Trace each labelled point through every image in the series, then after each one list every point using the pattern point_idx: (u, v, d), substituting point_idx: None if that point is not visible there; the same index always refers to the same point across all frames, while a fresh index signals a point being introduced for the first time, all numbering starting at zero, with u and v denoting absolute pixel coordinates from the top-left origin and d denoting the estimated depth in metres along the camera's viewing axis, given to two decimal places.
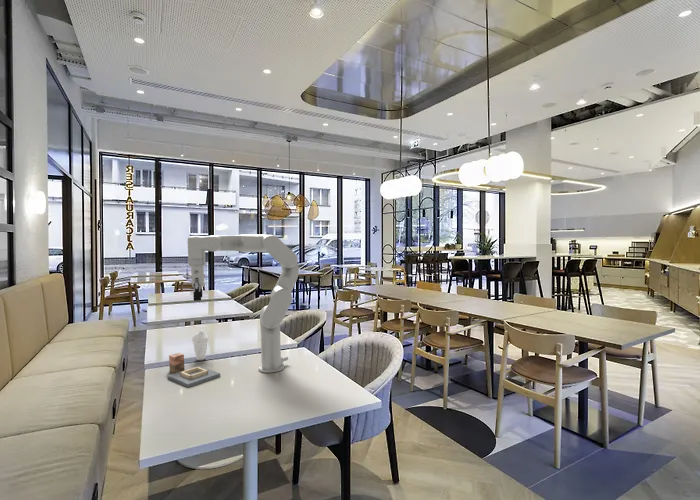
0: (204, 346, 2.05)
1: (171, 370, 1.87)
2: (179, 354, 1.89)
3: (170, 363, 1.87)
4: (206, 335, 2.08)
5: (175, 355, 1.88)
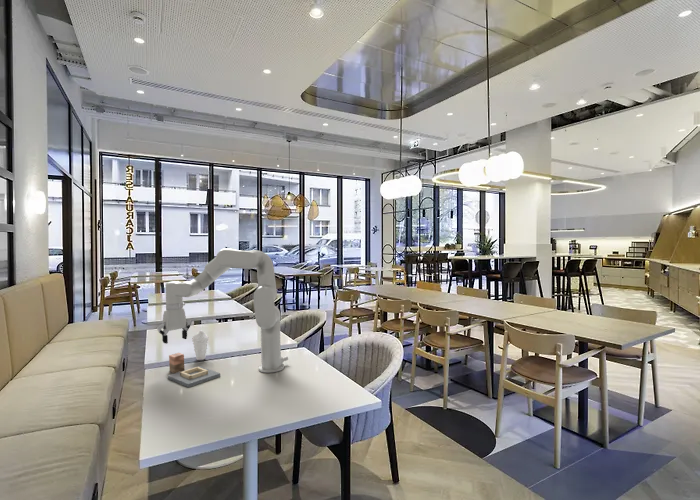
0: (204, 346, 2.05)
1: (171, 370, 1.87)
2: (179, 354, 1.89)
3: (170, 363, 1.87)
4: (206, 335, 2.08)
5: (175, 355, 1.88)
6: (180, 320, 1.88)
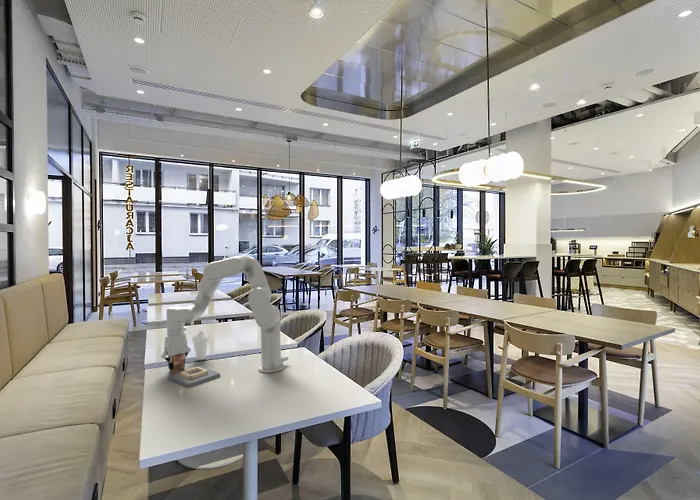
0: (204, 346, 2.05)
1: (171, 370, 1.87)
2: (179, 354, 1.89)
3: None
4: (206, 335, 2.08)
5: None
6: (181, 345, 1.88)
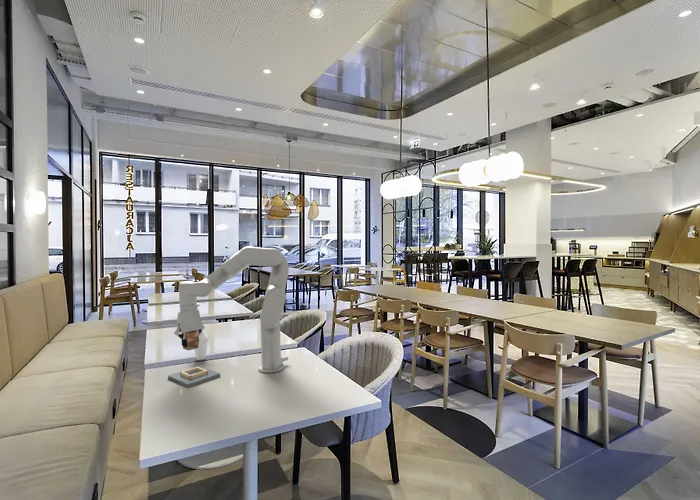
0: (204, 346, 2.05)
1: (184, 347, 1.79)
2: (192, 331, 1.81)
3: None
4: (206, 335, 2.08)
5: None
6: (195, 322, 1.80)
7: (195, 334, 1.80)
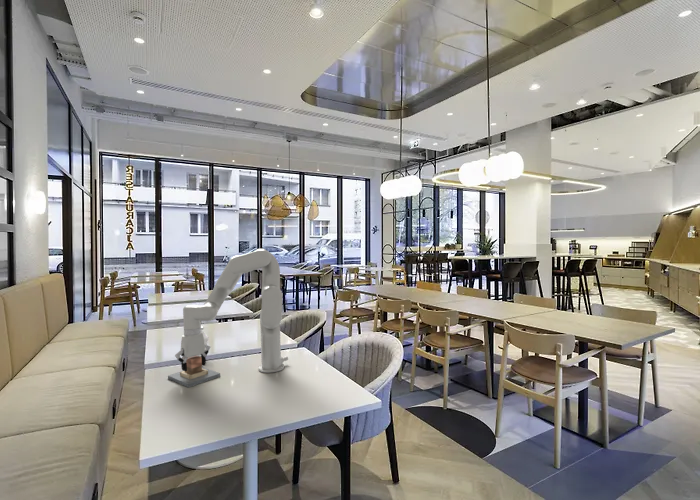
0: None
1: None
2: (196, 357, 1.79)
3: (187, 366, 1.77)
4: (206, 335, 2.08)
5: (192, 358, 1.78)
6: (199, 346, 1.78)
7: (199, 360, 1.78)
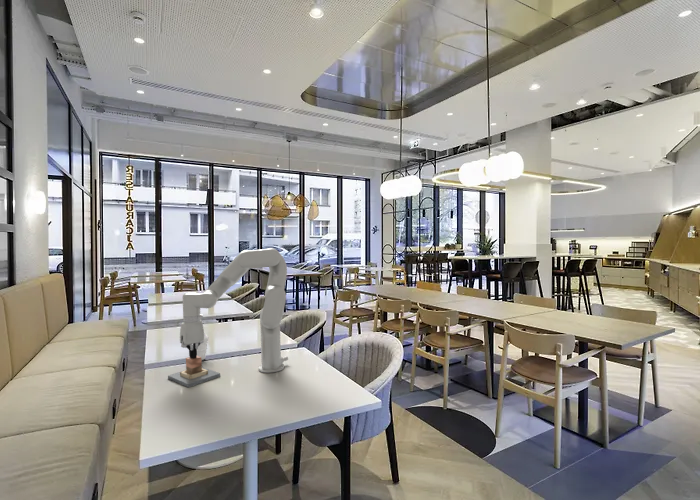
0: (204, 346, 2.05)
1: None
2: (196, 357, 1.79)
3: (187, 366, 1.77)
4: (206, 335, 2.08)
5: (192, 358, 1.78)
6: (198, 333, 1.78)
7: (199, 360, 1.78)
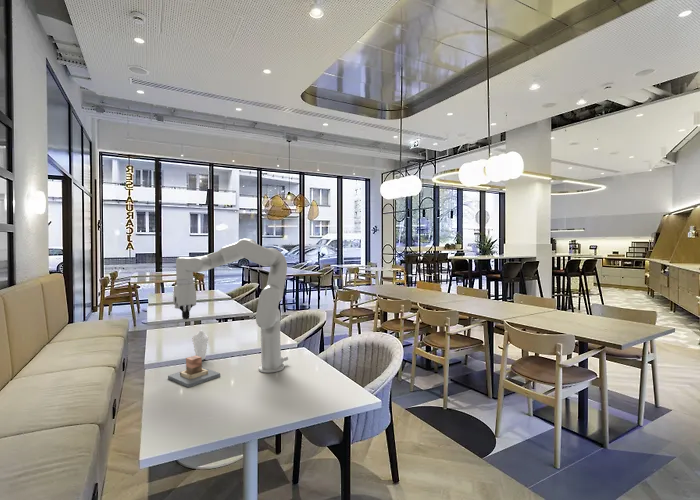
0: (204, 346, 2.05)
1: None
2: (196, 357, 1.79)
3: (187, 366, 1.77)
4: (206, 335, 2.08)
5: (192, 358, 1.78)
6: (191, 295, 1.88)
7: (199, 360, 1.78)
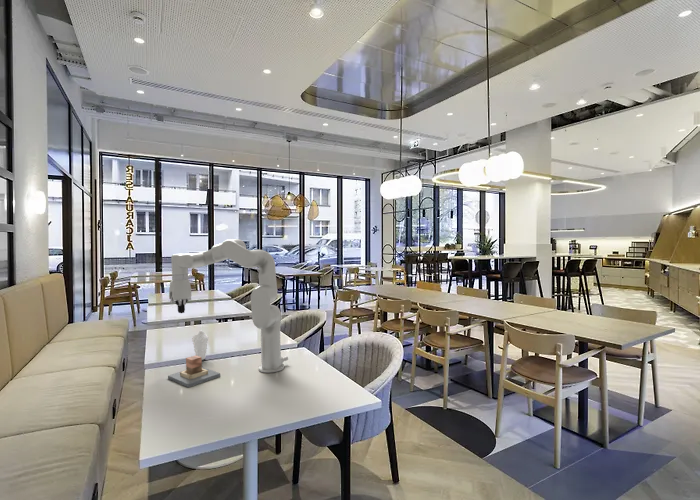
0: (204, 346, 2.05)
1: None
2: (196, 357, 1.79)
3: (187, 366, 1.77)
4: (206, 335, 2.08)
5: (192, 358, 1.78)
6: (186, 290, 1.97)
7: (199, 360, 1.78)
